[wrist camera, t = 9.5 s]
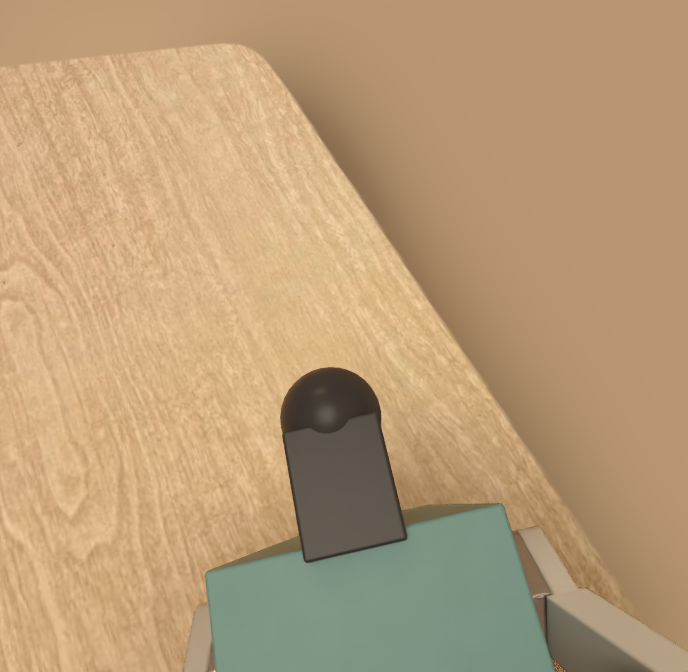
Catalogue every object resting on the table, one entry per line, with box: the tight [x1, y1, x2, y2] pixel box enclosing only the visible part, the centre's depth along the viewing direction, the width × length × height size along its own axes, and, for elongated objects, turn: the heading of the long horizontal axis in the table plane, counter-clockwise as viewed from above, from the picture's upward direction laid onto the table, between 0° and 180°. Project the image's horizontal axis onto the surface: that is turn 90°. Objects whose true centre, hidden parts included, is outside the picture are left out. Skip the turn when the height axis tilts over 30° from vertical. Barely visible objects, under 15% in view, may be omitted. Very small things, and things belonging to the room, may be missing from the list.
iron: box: [205, 367, 555, 672], centre depth 12 cm, size 8×5×13 cm
